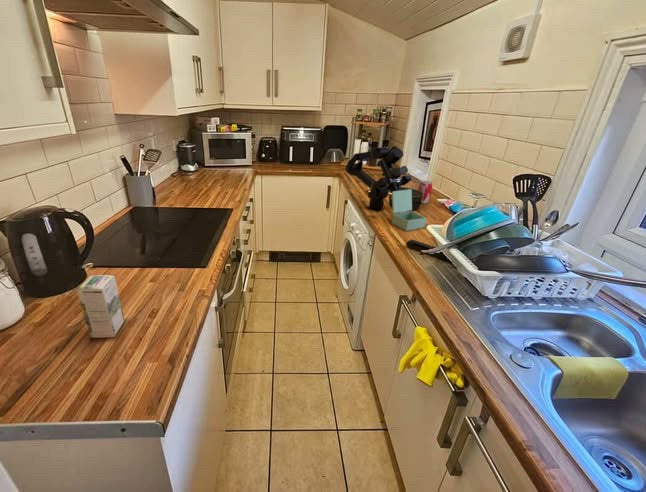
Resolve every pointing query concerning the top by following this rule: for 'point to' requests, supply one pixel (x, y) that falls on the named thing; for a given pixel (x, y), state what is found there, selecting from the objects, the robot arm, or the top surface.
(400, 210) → the lid
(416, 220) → the keepsake box
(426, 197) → the soda can
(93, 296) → the syrup box
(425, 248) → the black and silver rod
